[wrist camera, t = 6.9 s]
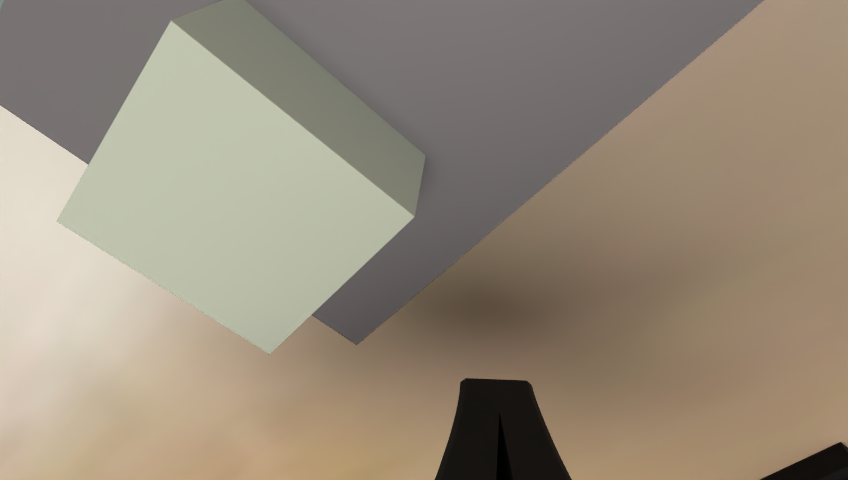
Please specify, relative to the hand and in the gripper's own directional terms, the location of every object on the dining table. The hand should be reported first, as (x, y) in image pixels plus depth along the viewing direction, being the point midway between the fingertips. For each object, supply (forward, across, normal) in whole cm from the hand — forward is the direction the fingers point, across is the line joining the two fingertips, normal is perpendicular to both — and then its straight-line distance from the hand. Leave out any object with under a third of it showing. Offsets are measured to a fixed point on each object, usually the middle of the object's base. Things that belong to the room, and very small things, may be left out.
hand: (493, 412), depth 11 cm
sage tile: (+3, +5, -4) cm, 7 cm away
